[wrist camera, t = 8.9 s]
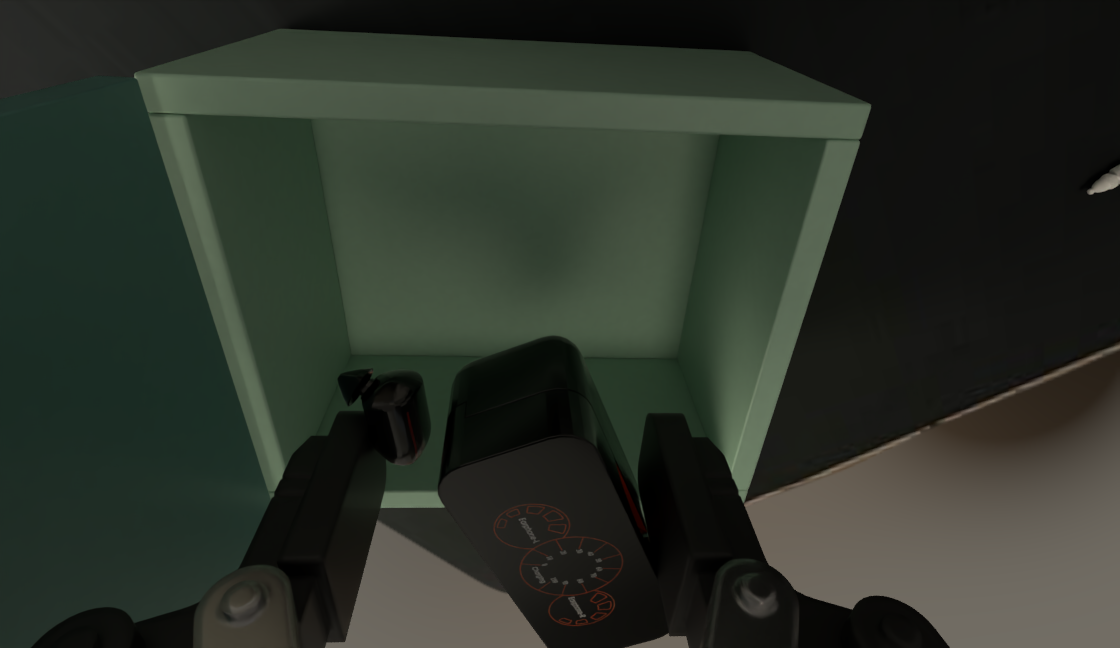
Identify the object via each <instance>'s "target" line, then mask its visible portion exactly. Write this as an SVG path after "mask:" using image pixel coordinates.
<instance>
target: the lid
mask: <svg viewBox="0 0 1120 648" xmlns="http://www.w3.org/2000/svg"><path fill="white" fill-rule="evenodd" d="M270 501H271V498H270V495H269V492H268V489H267V486H266V483H265V479H264V476H263V473H262V470H261V467H260V464H259V461H258V457H257V454H256V451H255V448H254V445H253V442H252V439H251V435H250V432H249V429H248V426H247V423H246V420H245V416H244V413H243V410H242V407H241V404H240V401H239V398H238V394H237V391H236V388H235V385H234V382H233V379H232V376H231V372H230V369H229V366H228V363H227V360H226V357H225V354H224V350H223V347H222V344H221V341H220V338H219V335H218V332H217V328H216V325H215V322H214V319H213V316H212V313H211V309H210V306H209V303H208V300H207V297H206V294H205V291H204V287H203V284H202V281H201V278H200V275H199V272H198V269H197V265H196V262H195V259H194V256H193V253H192V250H191V247H190V243H189V240H188V237H187V234H186V231H185V228H184V225H183V221H182V218H181V215H180V212H179V209H178V206H177V202H176V199H175V196H174V193H173V190H172V187H171V184H170V180H169V177H168V174H167V171H166V168H165V165H164V162H163V158H162V155H161V152H160V149H159V146H158V143H157V140H156V136H155V133H154V130H153V127H152V124H151V121H150V118H149V114H148V111H147V108H146V105H145V102H144V99H143V95H142V92H141V89H140V86H139V83H138V80H137V79H136V78H128V77H112V76H95V77H91V78H86V79H82V80H78V81H74V82H70V83H66V84H61V85H57V86H53V87H49V88H45V89H41V90H37V91H32V92H28V93H24V94H20V95H16V96H12V97H7V98H3V99H0V648H31V647H32V646H33V645H34V644H35V643H36V642H37V641H38V640H39V639H40V638H41V637H42V636H43V635H44V634H45V633H46V632H48V631H49V630H50V629H52V628H53V627H54V626H56V625H57V624H59V623H60V622H62V621H64V620H66V619H67V618H69V617H71V616H74V615H76V614H78V613H81V612H84V611H86V610H90V609H94V608H101V607H114V608H118V609H121V610H123V611H125V612H126V613H127V614H128V615H129V616H130V617H131V619H132V620H133V622H134V623H136V622H139V621H142V620H146V619H149V618H153V617H156V616H159V615H163V614H166V613H169V612H173V611H176V610H179V609H183V608H186V607H188V606H191V605H194V604H196V603H198V602H200V600H201V599H202V597H203V596H204V595H205V593H206V592H207V591H208V590H209V589H210V588H211V587H212V586H213V585H214V584H215V583H216V582H217V581H219V580H220V579H222V578H223V577H224V576H226V575H228V574H230V573H231V572H233V571H236V570H238V568H239V566H240V564H241V563H242V560H243V558H244V556H245V554H246V552H247V550H248V548H249V546H250V543H251V541H252V539H253V537H254V535H255V533H256V531H257V528H258V526H259V524H260V522H261V520H262V518H263V516H264V513H265V511H266V509H267V507H268V505H269V503H270Z"/></svg>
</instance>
